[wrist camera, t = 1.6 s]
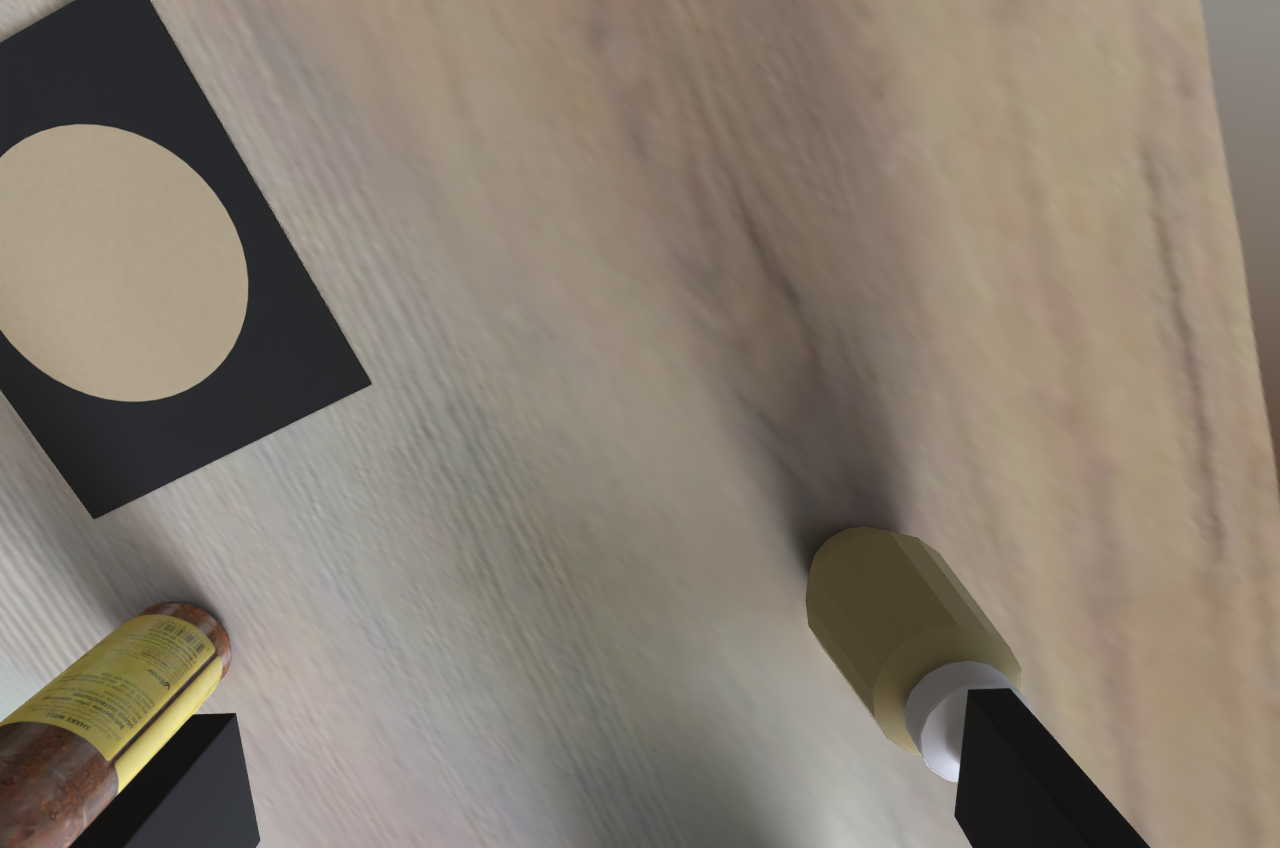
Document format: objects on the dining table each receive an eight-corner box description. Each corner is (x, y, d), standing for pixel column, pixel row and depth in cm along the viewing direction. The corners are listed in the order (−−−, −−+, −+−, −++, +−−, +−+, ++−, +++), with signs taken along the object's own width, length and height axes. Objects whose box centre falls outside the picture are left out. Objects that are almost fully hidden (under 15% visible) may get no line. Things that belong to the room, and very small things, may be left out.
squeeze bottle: (784, 630, 42) (899, 904, 24) (796, 504, 40) (930, 702, 22) (916, 633, 42) (1124, 905, 24) (934, 508, 40) (1175, 706, 22)
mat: (-175, 143, 34) (-178, 142, 34) (131, -30, 32) (130, -31, 32) (94, 519, 39) (93, 519, 39) (371, 384, 37) (371, 384, 37)
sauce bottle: (116, 605, 40) (-350, 929, 21) (220, 588, 40) (-152, 899, 21) (153, 701, 42) (-249, 1085, 23) (254, 685, 42) (-64, 1057, 22)
